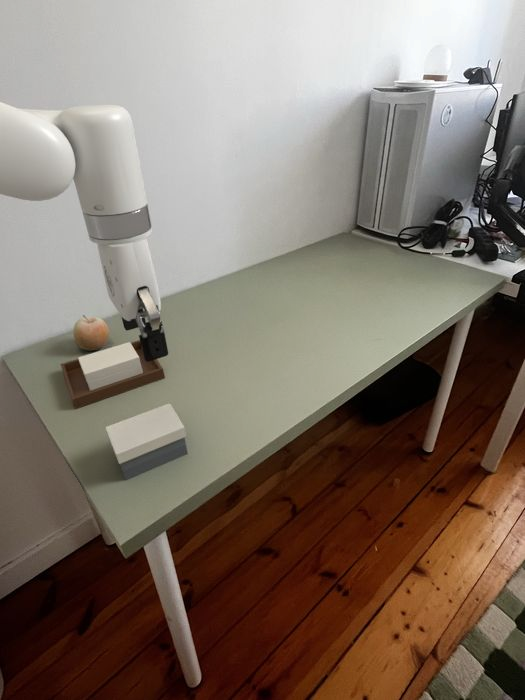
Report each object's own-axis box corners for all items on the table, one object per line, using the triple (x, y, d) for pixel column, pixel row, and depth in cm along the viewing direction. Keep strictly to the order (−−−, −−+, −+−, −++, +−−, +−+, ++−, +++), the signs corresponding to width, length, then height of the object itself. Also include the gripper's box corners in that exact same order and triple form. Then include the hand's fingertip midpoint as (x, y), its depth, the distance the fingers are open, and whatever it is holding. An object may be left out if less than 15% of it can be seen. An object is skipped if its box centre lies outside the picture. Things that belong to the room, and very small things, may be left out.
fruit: (70, 353, 95) (59, 322, 90) (89, 336, 101) (80, 306, 96) (101, 357, 93) (91, 325, 89) (119, 339, 99) (110, 308, 95)
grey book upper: (122, 471, 64) (119, 462, 63) (113, 446, 68) (110, 437, 67) (186, 444, 68) (184, 435, 67) (173, 423, 72) (171, 414, 71)
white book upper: (87, 382, 82) (84, 374, 80) (80, 365, 86) (77, 357, 85) (141, 365, 86) (139, 356, 85) (131, 349, 91) (129, 341, 89)
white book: (119, 464, 62) (115, 454, 61) (108, 436, 67) (105, 427, 66) (186, 436, 66) (184, 427, 65) (171, 412, 71) (169, 402, 70)
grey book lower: (125, 480, 65) (122, 471, 64) (116, 455, 69) (113, 446, 68) (187, 453, 69) (186, 444, 68) (175, 431, 73) (173, 423, 72)
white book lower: (90, 391, 83) (87, 382, 82) (83, 373, 88) (80, 365, 86) (143, 373, 87) (141, 365, 86) (133, 357, 92) (131, 349, 91)
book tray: (75, 409, 79) (71, 399, 78) (63, 373, 89) (60, 364, 88) (165, 378, 86) (163, 368, 85) (145, 347, 96) (143, 338, 94)
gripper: (73, 211, 57) (104, 324, 67) (104, 249, 44) (137, 381, 54) (129, 202, 60) (151, 310, 70) (173, 235, 48) (193, 362, 57)
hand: (145, 341), depth 62 cm, fingers open, 9 cm apart
